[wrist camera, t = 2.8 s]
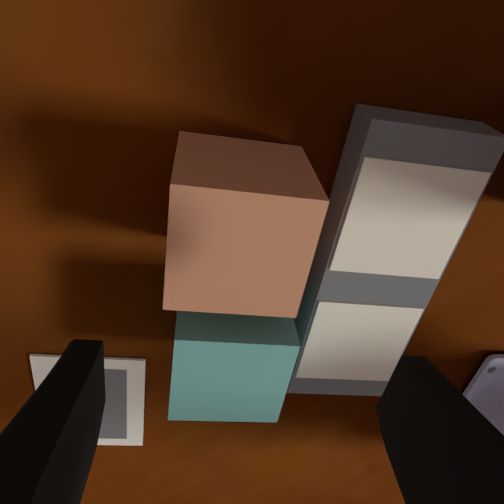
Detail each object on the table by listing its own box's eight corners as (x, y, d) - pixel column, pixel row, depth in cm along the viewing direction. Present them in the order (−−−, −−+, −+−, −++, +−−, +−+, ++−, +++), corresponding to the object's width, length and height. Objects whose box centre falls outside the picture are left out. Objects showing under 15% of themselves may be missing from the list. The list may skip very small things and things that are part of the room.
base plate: (370, 368, 26) (382, 397, 24) (281, 364, 25) (287, 394, 23) (482, 121, 18) (512, 139, 16) (356, 103, 17) (373, 119, 15)
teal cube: (265, 343, 24) (276, 422, 20) (174, 339, 23) (167, 420, 19) (282, 272, 21) (300, 346, 17) (181, 264, 21) (174, 340, 16)
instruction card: (142, 443, 28) (142, 446, 28) (45, 441, 27) (44, 445, 27) (145, 358, 24) (145, 362, 24) (30, 353, 23) (28, 357, 23)
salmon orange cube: (278, 246, 20) (296, 317, 16) (172, 236, 20) (162, 309, 16) (301, 145, 18) (329, 201, 14) (179, 130, 17) (170, 183, 13)
